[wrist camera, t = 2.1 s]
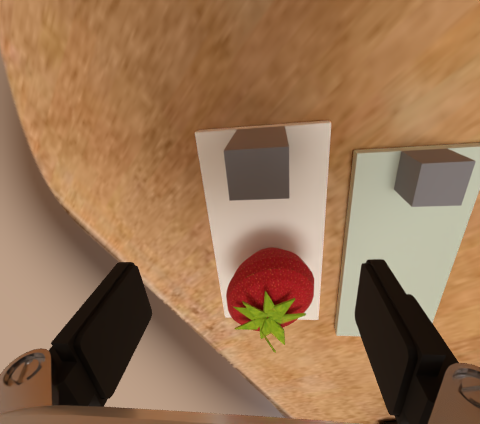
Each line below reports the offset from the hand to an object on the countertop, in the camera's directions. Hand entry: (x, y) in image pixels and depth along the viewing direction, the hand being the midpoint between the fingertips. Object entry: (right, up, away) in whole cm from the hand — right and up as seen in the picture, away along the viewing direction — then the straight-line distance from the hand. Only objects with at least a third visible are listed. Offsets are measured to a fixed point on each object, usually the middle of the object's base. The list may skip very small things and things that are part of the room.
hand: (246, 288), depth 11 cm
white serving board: (+2, +1, +14) cm, 14 cm away
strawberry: (+2, -1, +15) cm, 15 cm away
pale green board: (+14, -1, +13) cm, 19 cm away
